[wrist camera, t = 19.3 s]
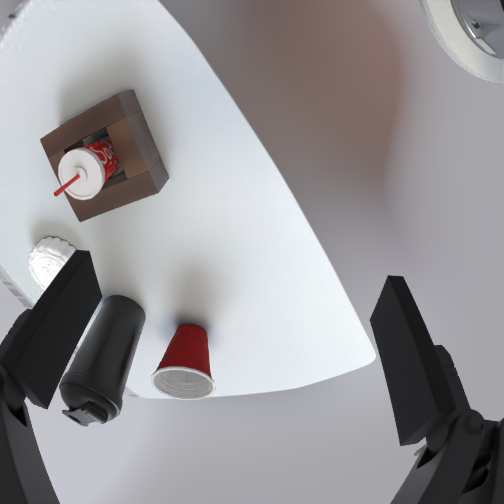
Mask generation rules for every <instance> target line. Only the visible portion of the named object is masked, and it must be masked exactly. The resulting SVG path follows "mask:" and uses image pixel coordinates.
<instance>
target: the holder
mask: <svg viewBox="0 0 504 504" xmlns="http://www.w3.org/2000/svg"><path fill="white" fill-rule="evenodd" d="M105 127H106V130H107V133H108V135H109V137H110V140H111V142H112V144H113V147H114V149H115V151H116V154H117V156H118V158H119V160H120V163H121V165H122V167H123V169H124V172H125V173H122V174H120V175H118V176H115V177H113V178H110V179H108V180H106V182H105V183H104V184H103V186H102V188H101V190H100V191H99V192H98V193H97V194H96V195H95V196H94V197H92V198H91V199H86V200H80V199H76V198H74V197H72V196H71V195H69V194H68V193H67V192H66V191H65V190H64V193H65V195H66V197H67V199H68V201H69V203H70V205H71V207H72V209H73V211H74V212H75V214H76V216H77V218H78V220H79V222H82V221H84V220H87V219H89V218H92V217H94V216H97V215H100V214H102V213H105V212H107V211H110V210H113V209H115V208H118V207H121V206H123V205H126V204H129V203H132V202H134V201H137V200H140V199H143V198H146V197H148V196H151V195H154V194H157V193H159V191H160V190H161V189H162V187H163V186H164V184H165V183H166V182H167V180H168V179H169V177H168V175H167V172H166V170H165V168H164V165H163V163H162V160H161V159H160V156H159V153H158V151H157V148H156V146H155V143H154V141H153V139H152V136H151V134H150V131H149V129H148V126H147V124H146V121H145V119H144V116H143V113H142V111H141V109H140V106H139V103H138V101H137V98H136V96H135V93H134V90H131V91H127V92H123V93H120V94H116V95H114V96H112V97H111V98H109V99H107V100H105V101H103V102H101V103H99V104H97V105H96V106H94V107H92V108H90V109H88V110H87V111H85V112H83V113H81V114H80V115H78V116H76V117H75V118H73V119H71V120H70V121H68V122H66V123H65V124H63V125H61V126H60V127H58V128H57V129H55V130H54V131H52V132H50V133H49V134H47V135H46V136H44V137H43V138H41V139H40V141H41V143H42V146H43V148H44V150H45V153H46V155H47V157H48V160H49V162H50V164H51V166H52V168H53V170H54V173H55V175H56V177H57V179H58V181H59V183H60V185H61V182H60V179H59V176H58V168H59V164H60V161H61V159H62V157H63V156H64V155H65V154H66V153H67V152H69V151H71V150H74V149H77V148H82V147H84V144H83V141H82V139H84V138H86V137H88V136H89V135H91V134H93V133H95V132H97V131H99V130H101V129H103V128H105ZM61 187H62V185H61Z"/></svg>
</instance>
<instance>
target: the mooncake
mask: <svg viewBox="0 0 504 504" xmlns="http://www.w3.org/2000/svg"><path fill="white" fill-rule="evenodd" d="M75 250H76V249H75V248H74V247H73V246H70V245H69V243H68V242H66V241H61V239H59V238H54V239H53V238H52V237H48V238H47V239H42V240H41V241H40V242H39V243H38V244H37V245H36V246H35V247H34V248H33V249H32V251H31V252H30V256H29V258H28V260H29V268H30V270H31V274H32V276H33V277H34V278H35V280H36V282H37V284H39V286H40V287H42V289H43V290H44V291H45V290H46V289H47V287H48V286H49V284H50V283H51V282H52V280H53V279H54V278H55V276H56V275H57V274H58V272H59V271H60V270H61V268H62V267H63V266H64V264H65V263H66V262H67V261H68V259H69V258H70V257H71V256H72V254H73V253H74V252H75Z"/></svg>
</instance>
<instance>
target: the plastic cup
mask: <svg viewBox="0 0 504 504" xmlns="http://www.w3.org/2000/svg"><path fill="white" fill-rule="evenodd" d="M151 383H152V385H153V387H154V388H155V389H156V390H158V391H159V392H160V393H162V394H164V395H167V396H169V397H172V398H177V399H182V400H197V399H203V398H206V397H208V396H210V395H212V394H213V393H214V391H215V389H216V387H215V384H214V380H213V379H212V377H211V373H210V363H209V350H208V338H207V334H206V332H205V330H204V329H203V328H201V327H200V326H198V325H194V324H184V325H181V326H180V327H179V328H178V329H177V330H176V332H175V334H174V337H173V339H172V340H171V341H170V344H169V346H168V348H167V350H166V352H165V354H164V356H163V358H162V361H161V362H160V364H159V366H158V367H157V370H156V371H155V372H154V373H153V374H152V377H151Z"/></svg>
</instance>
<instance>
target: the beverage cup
mask: <svg viewBox="0 0 504 504" xmlns="http://www.w3.org/2000/svg"><path fill="white" fill-rule="evenodd" d="M120 165H121V163H120V160H119V158H118V156H117V154H116V151H115V149H114V147H113V144H112V142H111V140H110V137H109V136H107V137H104V138H102V139H100V140H97V141H95V142H93V143H91V144H88V145H86V146H84V147H82V148H77V149H74V150H71V151H69V152H67V153H66V154H65V155H64V156H63V157H62V159H61V161H60V164H59V168H58V176H59V179H60V182H61V185H62V187H61V188H59V189H58V190H57V191H56V192H54V195H55V196H58V195H59V194H60V193H61V192H63V191H64V190H65V191H66V192H67V193H68V194H69V195H71V196H72V197H74V198H76V199H80V200H86V199H91V198H92V197H94V196H95V195H96V194H97V193H98V192H99V191H100V190H101V188H102V186H103V184H104V183H105V182H106V180H107V179H108V178H109V177H110V176H111V175H112V174H113V173H114V172H115V171H116V170H117V169H118V167H119V166H120Z"/></svg>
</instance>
